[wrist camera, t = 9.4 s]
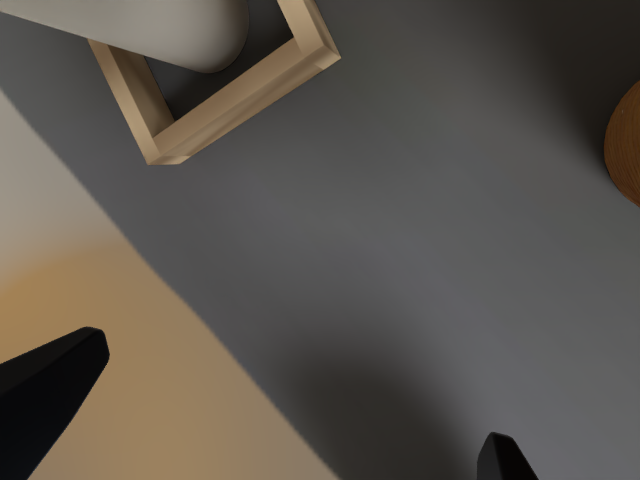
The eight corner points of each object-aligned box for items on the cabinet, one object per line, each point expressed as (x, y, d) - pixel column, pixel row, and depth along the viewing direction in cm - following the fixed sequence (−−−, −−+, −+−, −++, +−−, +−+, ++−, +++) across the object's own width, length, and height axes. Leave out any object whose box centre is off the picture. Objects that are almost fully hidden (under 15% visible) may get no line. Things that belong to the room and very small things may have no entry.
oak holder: (341, 58, 19) (323, 45, 17) (179, 164, 24) (147, 164, 21) (241, -157, 19) (209, -200, 17) (95, -10, 23) (54, -28, 21)
